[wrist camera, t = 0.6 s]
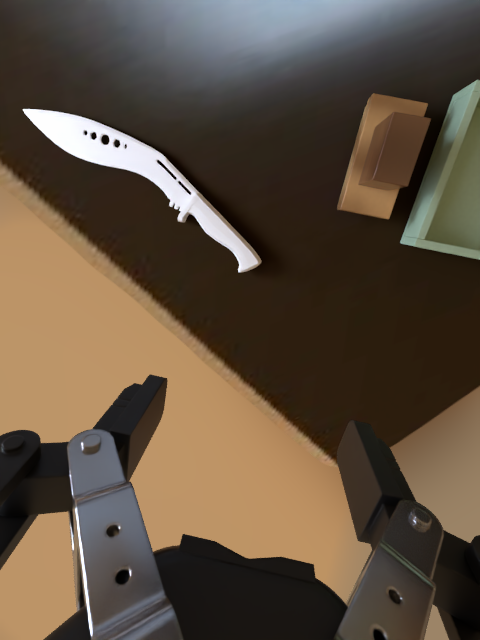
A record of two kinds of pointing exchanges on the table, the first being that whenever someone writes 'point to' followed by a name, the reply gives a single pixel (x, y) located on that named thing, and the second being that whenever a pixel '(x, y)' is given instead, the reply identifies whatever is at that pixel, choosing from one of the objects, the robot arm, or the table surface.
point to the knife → (142, 173)
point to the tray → (451, 184)
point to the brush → (383, 155)
